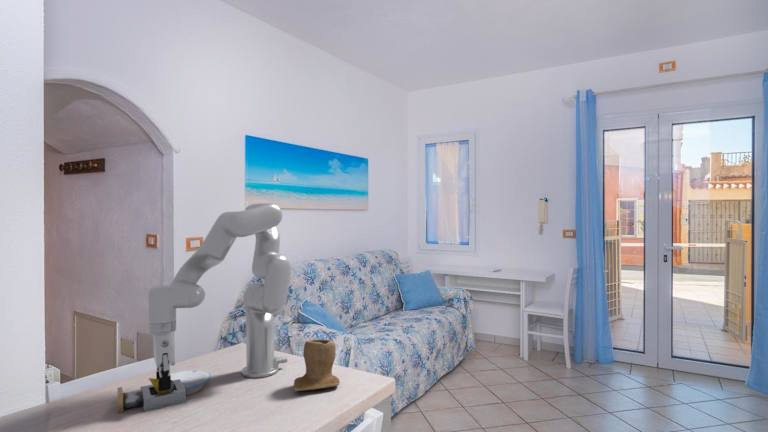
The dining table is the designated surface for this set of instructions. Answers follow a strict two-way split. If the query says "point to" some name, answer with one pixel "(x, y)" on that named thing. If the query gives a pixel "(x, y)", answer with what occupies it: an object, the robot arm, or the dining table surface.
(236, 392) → the dining table surface
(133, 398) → the fitting
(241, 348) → the dining table surface
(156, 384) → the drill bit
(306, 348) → the brown hollow boot figurine
